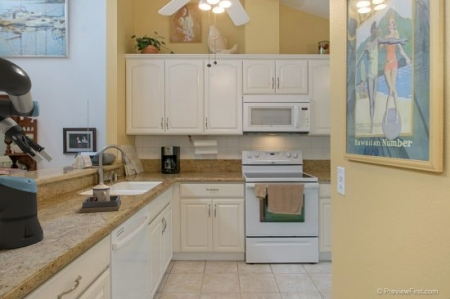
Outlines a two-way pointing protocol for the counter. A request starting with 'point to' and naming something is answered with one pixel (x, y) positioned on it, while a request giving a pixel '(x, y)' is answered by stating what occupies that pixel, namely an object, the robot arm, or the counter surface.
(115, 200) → the collar stand
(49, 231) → the counter surface
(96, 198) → the teacup with lid
